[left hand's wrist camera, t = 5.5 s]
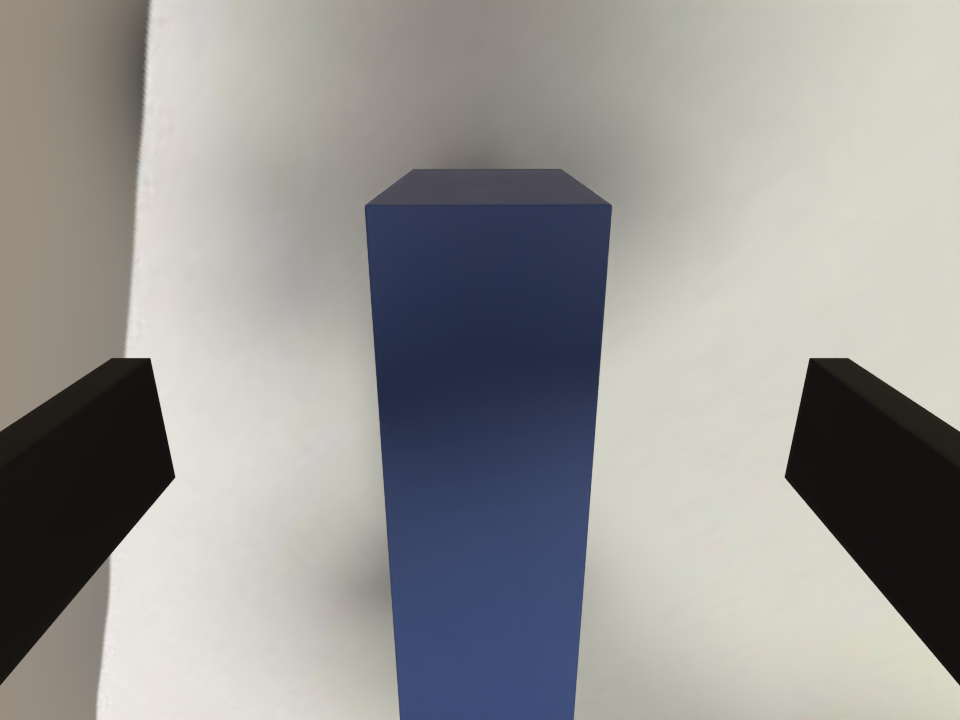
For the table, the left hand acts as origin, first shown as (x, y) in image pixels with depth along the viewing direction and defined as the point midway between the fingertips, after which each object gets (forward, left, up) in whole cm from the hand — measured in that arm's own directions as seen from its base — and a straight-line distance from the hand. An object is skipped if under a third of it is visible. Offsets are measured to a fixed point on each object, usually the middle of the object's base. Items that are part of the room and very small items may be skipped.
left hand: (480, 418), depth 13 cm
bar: (+9, +3, -10) cm, 14 cm away
